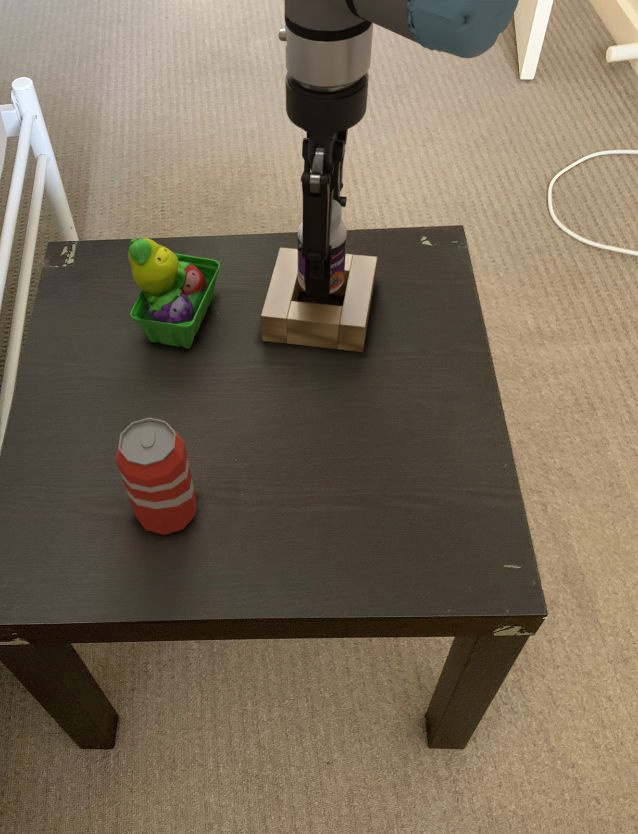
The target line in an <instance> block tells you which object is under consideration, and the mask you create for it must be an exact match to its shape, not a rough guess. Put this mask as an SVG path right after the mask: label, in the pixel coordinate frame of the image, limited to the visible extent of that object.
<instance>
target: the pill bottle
mask: <svg viewBox="0 0 638 834" xmlns="http://www.w3.org/2000/svg"><path fill="white" fill-rule="evenodd" d="M342 208H343V207H341V205H340V204H339V203H338V202H337V201H336V200H334V199H333V203H332V217H331V231H330V245H332V250H331V275H330V293H333V292H335V291H336V290H338V289H339V288H340V287H341V286H342V284H343V281H344V271H345V256H346V254H347V253H346V252H347V241H348V228H347V225H346V223H345V222H344V220H343V219H342V214H343V212H342ZM302 241H303V220H302V221H301V222H300V224H299V225H298V229H297V248H298V247H299V244H300V243H302ZM298 282H299V284H300V286H301V287H302V288H303V289H304V290H305V258H302V252H300V251H298Z"/></svg>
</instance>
